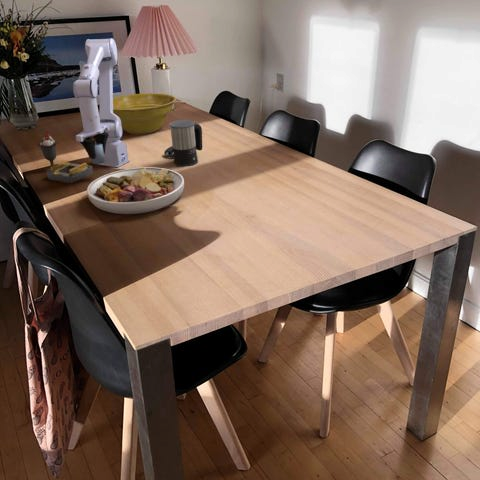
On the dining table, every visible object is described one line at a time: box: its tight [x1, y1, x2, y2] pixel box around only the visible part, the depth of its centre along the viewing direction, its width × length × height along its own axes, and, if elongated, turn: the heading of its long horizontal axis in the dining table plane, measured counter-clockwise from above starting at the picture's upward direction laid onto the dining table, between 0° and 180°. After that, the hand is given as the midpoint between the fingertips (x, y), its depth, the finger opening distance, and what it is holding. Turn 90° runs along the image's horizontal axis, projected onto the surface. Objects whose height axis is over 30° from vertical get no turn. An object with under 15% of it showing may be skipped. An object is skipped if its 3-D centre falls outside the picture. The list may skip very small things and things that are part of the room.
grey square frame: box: [46, 159, 94, 184], centre depth 180 cm, size 11×11×4 cm
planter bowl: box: [113, 92, 177, 135], centre depth 227 cm, size 32×32×13 cm
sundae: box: [37, 130, 58, 173], centre depth 184 cm, size 7×7×15 cm
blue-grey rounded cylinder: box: [90, 142, 105, 165], centre depth 174 cm, size 4×4×6 cm
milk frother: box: [163, 119, 203, 167], centre depth 189 cm, size 14×16×15 cm
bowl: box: [86, 166, 185, 215], centre depth 160 cm, size 30×30×8 cm
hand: (97, 156), depth 175 cm, fingers closed on blue-grey rounded cylinder, 4 cm apart
